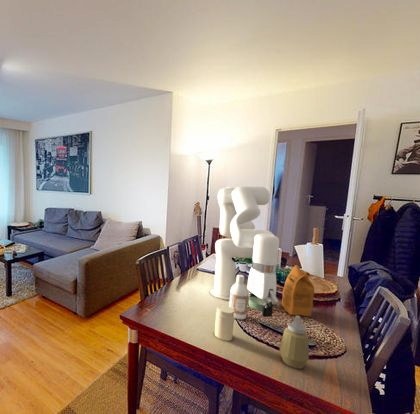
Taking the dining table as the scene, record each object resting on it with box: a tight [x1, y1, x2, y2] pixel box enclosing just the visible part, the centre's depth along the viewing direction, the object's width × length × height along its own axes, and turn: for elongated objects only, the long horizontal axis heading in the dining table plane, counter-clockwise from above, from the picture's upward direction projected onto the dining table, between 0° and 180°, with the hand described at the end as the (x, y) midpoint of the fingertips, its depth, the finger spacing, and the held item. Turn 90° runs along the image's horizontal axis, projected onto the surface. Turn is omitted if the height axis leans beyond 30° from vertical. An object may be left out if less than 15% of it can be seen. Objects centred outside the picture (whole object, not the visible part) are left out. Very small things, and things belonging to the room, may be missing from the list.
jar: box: [214, 304, 235, 341], centre depth 113 cm, size 6×6×12 cm
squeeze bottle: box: [279, 315, 310, 369], centre depth 97 cm, size 8×8×18 cm
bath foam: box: [228, 274, 249, 320], centre depth 128 cm, size 7×7×20 cm
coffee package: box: [281, 264, 315, 317], centre depth 132 cm, size 10×12×22 cm
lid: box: [248, 297, 270, 312], centre depth 105 cm, size 8×8×2 cm
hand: (259, 310), depth 106 cm, fingers closed on lid, 7 cm apart
